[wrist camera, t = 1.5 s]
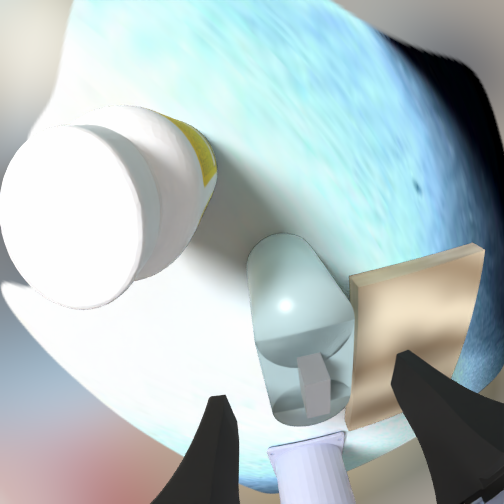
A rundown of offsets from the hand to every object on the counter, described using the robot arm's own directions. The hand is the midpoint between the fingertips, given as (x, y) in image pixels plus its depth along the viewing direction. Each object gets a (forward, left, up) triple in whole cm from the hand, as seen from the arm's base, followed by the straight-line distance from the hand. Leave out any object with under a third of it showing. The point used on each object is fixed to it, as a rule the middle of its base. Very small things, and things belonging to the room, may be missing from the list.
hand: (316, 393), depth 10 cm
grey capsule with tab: (0, 0, -7) cm, 7 cm away
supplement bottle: (+9, +5, -7) cm, 13 cm away
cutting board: (-7, -10, -7) cm, 14 cm away
